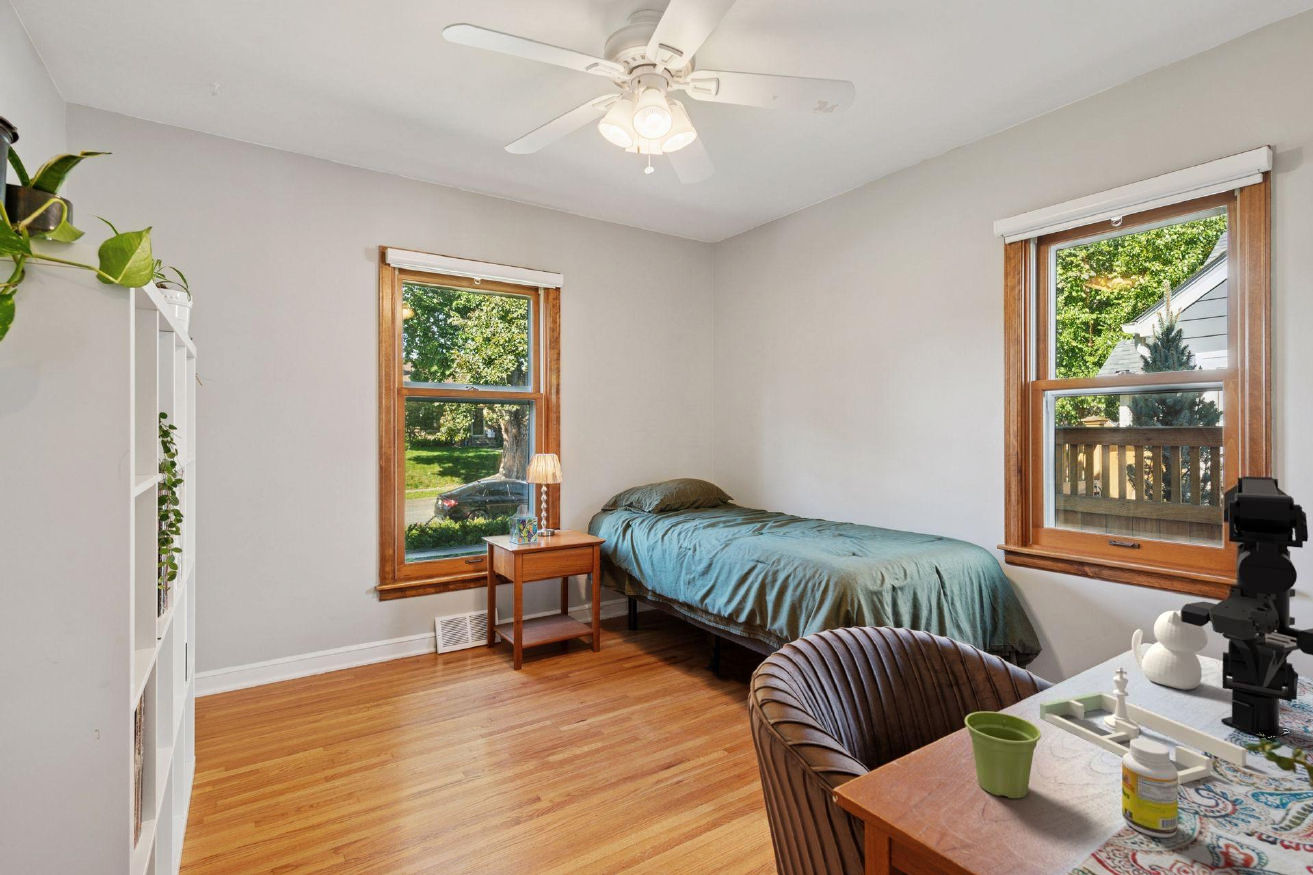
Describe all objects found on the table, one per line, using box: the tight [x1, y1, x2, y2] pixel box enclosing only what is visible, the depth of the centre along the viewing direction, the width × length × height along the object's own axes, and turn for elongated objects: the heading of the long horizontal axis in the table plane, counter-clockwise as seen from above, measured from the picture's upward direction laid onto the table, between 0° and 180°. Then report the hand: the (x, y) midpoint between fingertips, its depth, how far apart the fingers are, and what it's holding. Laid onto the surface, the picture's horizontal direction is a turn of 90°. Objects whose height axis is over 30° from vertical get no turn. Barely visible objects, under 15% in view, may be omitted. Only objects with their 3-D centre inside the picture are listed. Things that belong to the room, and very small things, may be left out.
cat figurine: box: [1131, 609, 1209, 691], centre depth 126 cm, size 9×12×15 cm
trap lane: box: [1039, 691, 1247, 785], centre depth 103 cm, size 14×22×2 cm, turn 19°
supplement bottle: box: [1121, 738, 1179, 838], centre depth 81 cm, size 6×6×10 cm
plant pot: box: [964, 711, 1042, 799], centre depth 90 cm, size 9×9×9 cm
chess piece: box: [1102, 666, 1140, 733], centre depth 108 cm, size 5×5×10 cm
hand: (1261, 686), depth 95 cm, fingers closed
